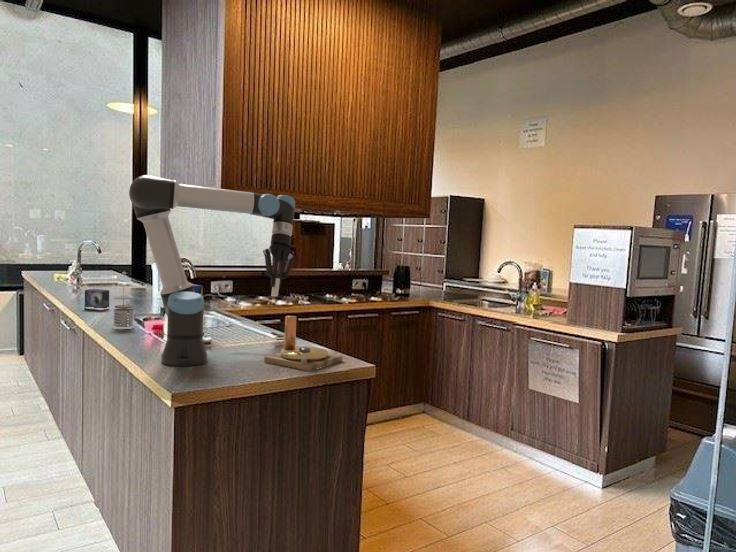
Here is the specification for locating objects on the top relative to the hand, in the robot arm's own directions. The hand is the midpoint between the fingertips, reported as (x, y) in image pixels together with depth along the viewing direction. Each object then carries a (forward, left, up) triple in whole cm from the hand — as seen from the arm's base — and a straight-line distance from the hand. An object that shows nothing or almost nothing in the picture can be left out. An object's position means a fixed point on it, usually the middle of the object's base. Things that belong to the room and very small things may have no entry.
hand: (274, 295), depth 204 cm
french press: (-2, +81, -23) cm, 84 cm away
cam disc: (0, -15, -20) cm, 25 cm away
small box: (+22, +135, -23) cm, 139 cm away
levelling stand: (0, -15, -22) cm, 27 cm away
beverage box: (+3, +48, -23) cm, 53 cm away
